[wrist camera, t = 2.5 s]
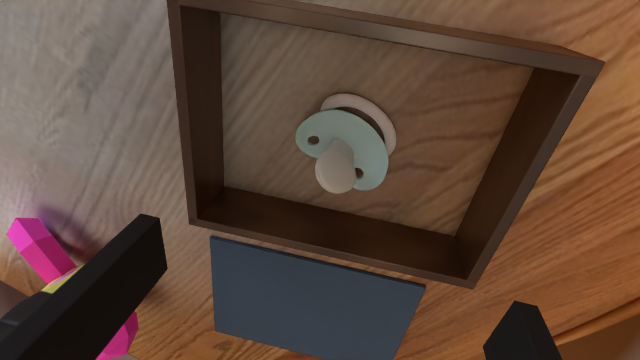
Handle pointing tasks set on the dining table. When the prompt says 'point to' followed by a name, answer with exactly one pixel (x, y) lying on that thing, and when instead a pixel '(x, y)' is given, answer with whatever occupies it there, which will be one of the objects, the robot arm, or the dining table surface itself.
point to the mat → (309, 303)
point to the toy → (61, 273)
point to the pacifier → (347, 144)
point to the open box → (347, 229)
